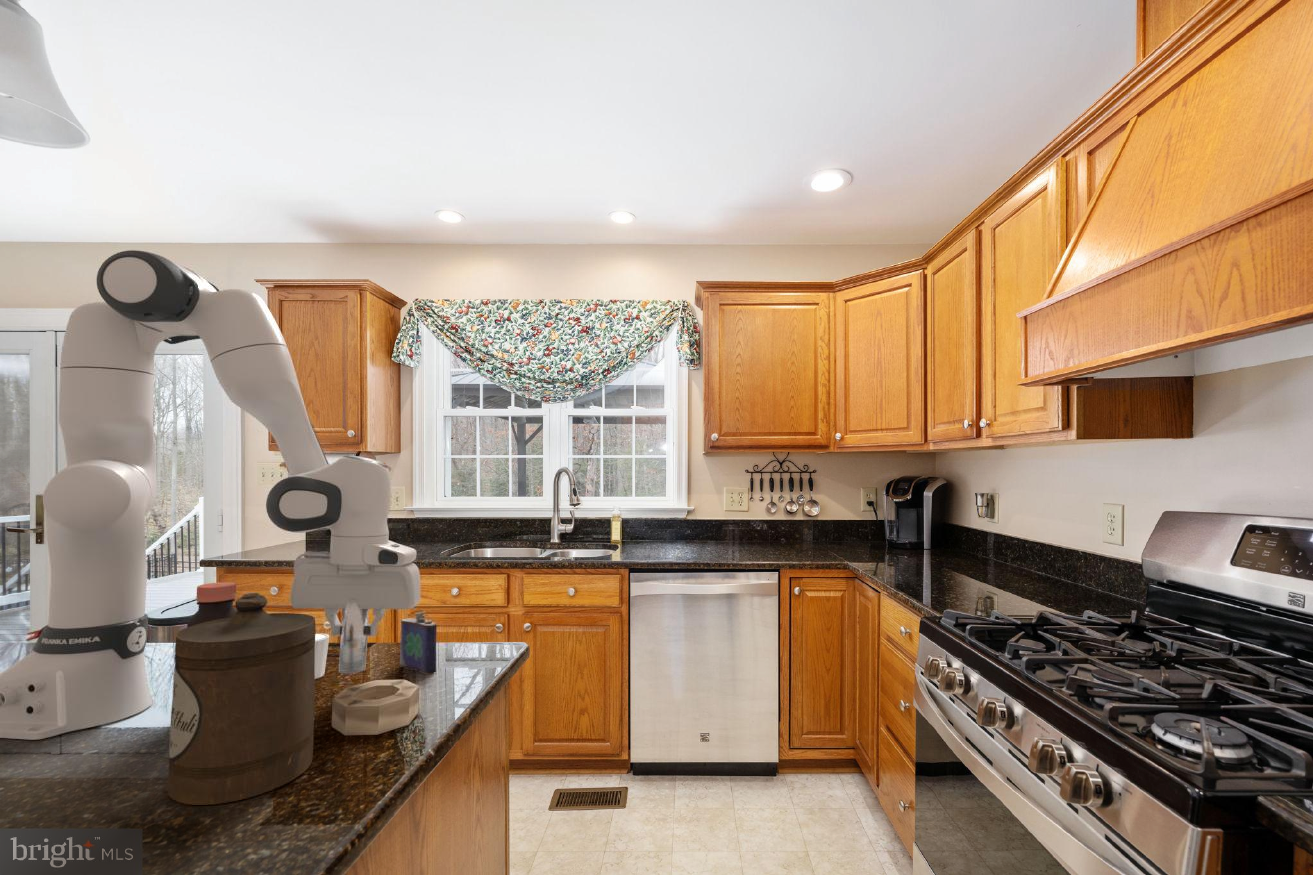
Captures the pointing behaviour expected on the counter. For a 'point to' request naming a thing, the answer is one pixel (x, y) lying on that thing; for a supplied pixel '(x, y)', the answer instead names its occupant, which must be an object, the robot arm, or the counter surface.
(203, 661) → the wooden container
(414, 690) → the bead
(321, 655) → the white short cylinder
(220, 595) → the bottle
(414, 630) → the flask
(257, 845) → the counter surface
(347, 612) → the white candle
